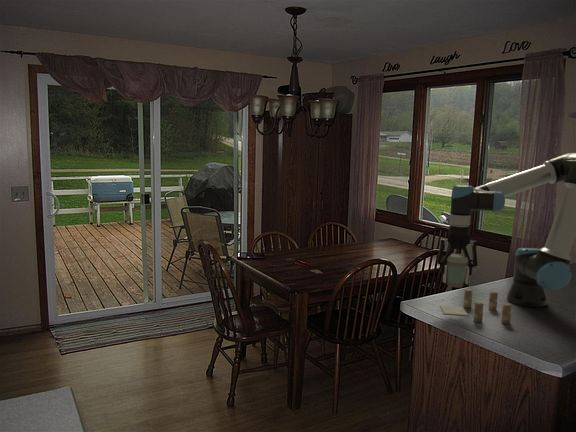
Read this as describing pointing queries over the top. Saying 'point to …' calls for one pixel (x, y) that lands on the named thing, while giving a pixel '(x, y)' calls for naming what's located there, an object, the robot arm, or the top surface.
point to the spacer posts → (492, 306)
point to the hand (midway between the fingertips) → (455, 282)
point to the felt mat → (453, 310)
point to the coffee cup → (456, 270)
